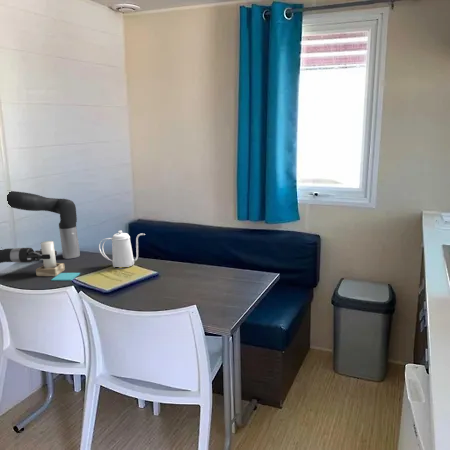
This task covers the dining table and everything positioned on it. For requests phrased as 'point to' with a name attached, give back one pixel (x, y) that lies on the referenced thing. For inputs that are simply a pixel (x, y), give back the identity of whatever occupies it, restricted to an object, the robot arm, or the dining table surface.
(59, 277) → the mat
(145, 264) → the dining table surface
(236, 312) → the dining table surface
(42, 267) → the holder
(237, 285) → the dining table surface
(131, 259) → the coffeepot
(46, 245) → the white cylinder
